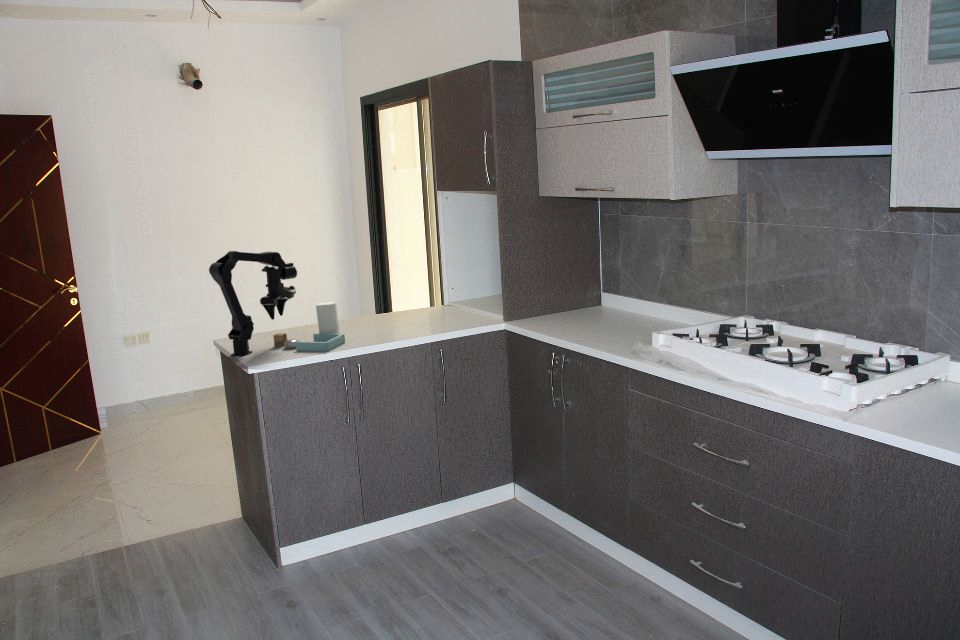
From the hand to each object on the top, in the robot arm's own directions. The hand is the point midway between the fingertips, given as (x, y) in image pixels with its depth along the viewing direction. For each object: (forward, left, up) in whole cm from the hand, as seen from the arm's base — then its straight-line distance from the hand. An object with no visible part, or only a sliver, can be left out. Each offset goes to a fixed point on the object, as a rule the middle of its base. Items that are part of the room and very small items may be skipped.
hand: (277, 317), depth 341 cm
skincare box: (+15, -16, -12) cm, 25 cm away
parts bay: (-1, -20, -12) cm, 23 cm away
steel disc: (-4, -8, -12) cm, 15 cm away
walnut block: (-1, -1, -12) cm, 12 cm away
